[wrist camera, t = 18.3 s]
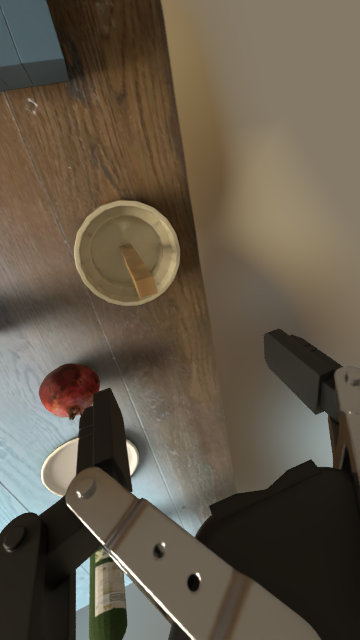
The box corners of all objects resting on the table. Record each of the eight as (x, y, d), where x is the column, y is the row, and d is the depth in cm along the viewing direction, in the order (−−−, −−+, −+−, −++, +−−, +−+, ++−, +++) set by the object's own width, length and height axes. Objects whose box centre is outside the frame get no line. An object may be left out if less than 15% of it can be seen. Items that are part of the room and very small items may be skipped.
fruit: (40, 356, 44) (27, 396, 35) (98, 352, 47) (99, 388, 38) (47, 397, 48) (36, 443, 39) (100, 391, 50) (101, 432, 42)
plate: (89, 504, 64) (89, 509, 63) (18, 473, 53) (16, 479, 52) (155, 455, 63) (156, 460, 62) (97, 414, 53) (97, 419, 51)
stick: (130, 243, 39) (153, 276, 24) (133, 254, 40) (158, 293, 25) (119, 246, 39) (134, 281, 23) (122, 257, 40) (140, 298, 24)
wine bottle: (121, 518, 70) (136, 706, 45) (118, 534, 74) (131, 719, 48) (90, 525, 68) (88, 728, 42) (89, 541, 71) (87, 740, 45)
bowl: (133, 178, 36) (140, 175, 31) (185, 258, 44) (197, 266, 38) (55, 239, 37) (48, 246, 32) (119, 308, 44) (122, 323, 39)
